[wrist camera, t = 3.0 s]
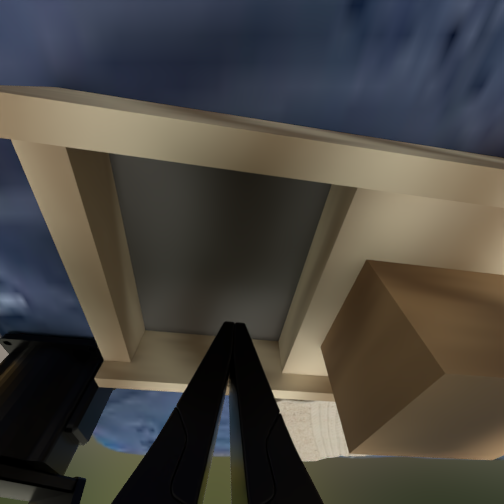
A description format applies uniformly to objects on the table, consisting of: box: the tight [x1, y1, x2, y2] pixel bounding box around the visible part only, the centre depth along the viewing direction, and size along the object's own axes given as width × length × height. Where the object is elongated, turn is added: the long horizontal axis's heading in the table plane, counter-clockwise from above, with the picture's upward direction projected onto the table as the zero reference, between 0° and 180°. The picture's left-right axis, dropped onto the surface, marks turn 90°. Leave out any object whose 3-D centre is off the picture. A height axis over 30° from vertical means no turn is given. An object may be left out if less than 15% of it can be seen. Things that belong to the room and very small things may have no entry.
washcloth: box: [275, 398, 366, 462], centre depth 22 cm, size 12×18×3 cm, turn 13°
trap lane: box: [0, 85, 504, 402], centre depth 12 cm, size 40×14×4 cm, turn 82°
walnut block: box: [321, 259, 504, 460], centre depth 9 cm, size 6×6×4 cm
